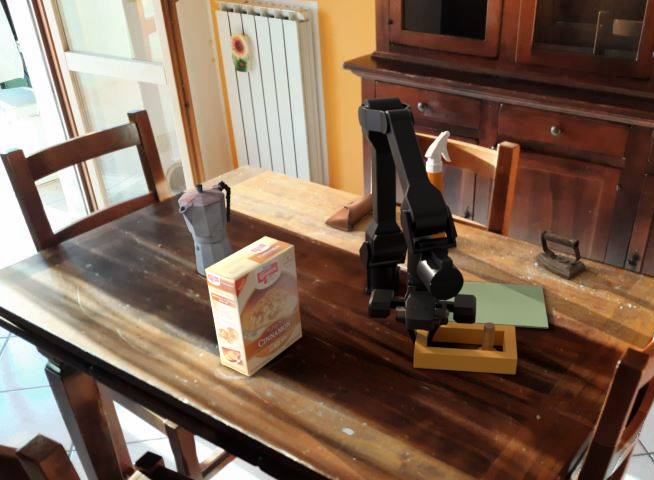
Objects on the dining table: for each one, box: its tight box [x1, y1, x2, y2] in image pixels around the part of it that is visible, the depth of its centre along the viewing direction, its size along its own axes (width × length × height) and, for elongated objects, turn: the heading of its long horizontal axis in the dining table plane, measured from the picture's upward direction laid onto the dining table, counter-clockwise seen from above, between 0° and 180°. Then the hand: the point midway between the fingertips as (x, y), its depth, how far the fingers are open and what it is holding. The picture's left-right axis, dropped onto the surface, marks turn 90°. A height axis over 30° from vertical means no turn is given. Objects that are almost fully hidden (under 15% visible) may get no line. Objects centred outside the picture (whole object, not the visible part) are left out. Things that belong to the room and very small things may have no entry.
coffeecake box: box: [205, 235, 303, 377], centre depth 115 cm, size 15×7×20 cm, turn 148°
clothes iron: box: [535, 230, 587, 280], centre depth 146 cm, size 7×11×10 cm, turn 47°
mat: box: [448, 280, 549, 330], centre depth 134 cm, size 24×16×1 cm, turn 84°
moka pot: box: [177, 180, 235, 277], centre depth 141 cm, size 10×15×20 cm, turn 158°
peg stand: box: [476, 322, 498, 351], centre depth 118 cm, size 4×4×7 cm
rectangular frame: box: [413, 322, 518, 375], centre depth 119 cm, size 18×10×3 cm, turn 84°
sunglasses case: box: [324, 193, 373, 232], centre depth 169 cm, size 18×7×7 cm
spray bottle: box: [424, 130, 452, 238], centre depth 150 cm, size 7×11×26 cm, turn 148°
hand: (421, 345), depth 120 cm, fingers closed on rectangular frame, 2 cm apart
